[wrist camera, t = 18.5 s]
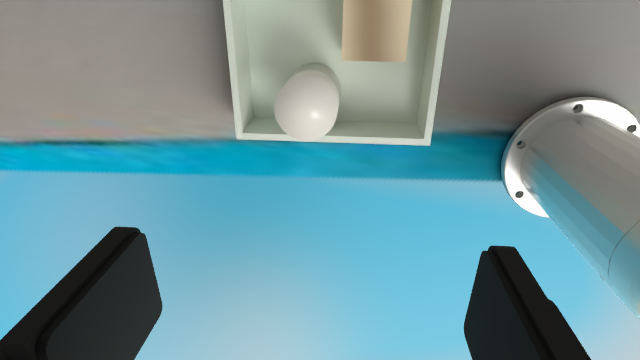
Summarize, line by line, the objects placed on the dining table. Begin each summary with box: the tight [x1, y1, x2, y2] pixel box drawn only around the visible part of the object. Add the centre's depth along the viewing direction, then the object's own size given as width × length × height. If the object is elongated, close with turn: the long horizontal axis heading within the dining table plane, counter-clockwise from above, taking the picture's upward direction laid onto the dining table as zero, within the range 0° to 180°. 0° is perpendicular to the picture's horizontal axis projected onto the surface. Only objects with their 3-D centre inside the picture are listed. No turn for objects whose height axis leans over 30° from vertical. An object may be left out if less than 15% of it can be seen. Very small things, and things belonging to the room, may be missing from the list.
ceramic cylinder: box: [274, 63, 341, 141], centre depth 33 cm, size 5×5×7 cm
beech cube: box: [341, 0, 412, 62], centre depth 31 cm, size 5×5×5 cm
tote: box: [223, 0, 451, 146], centre depth 33 cm, size 17×13×5 cm
